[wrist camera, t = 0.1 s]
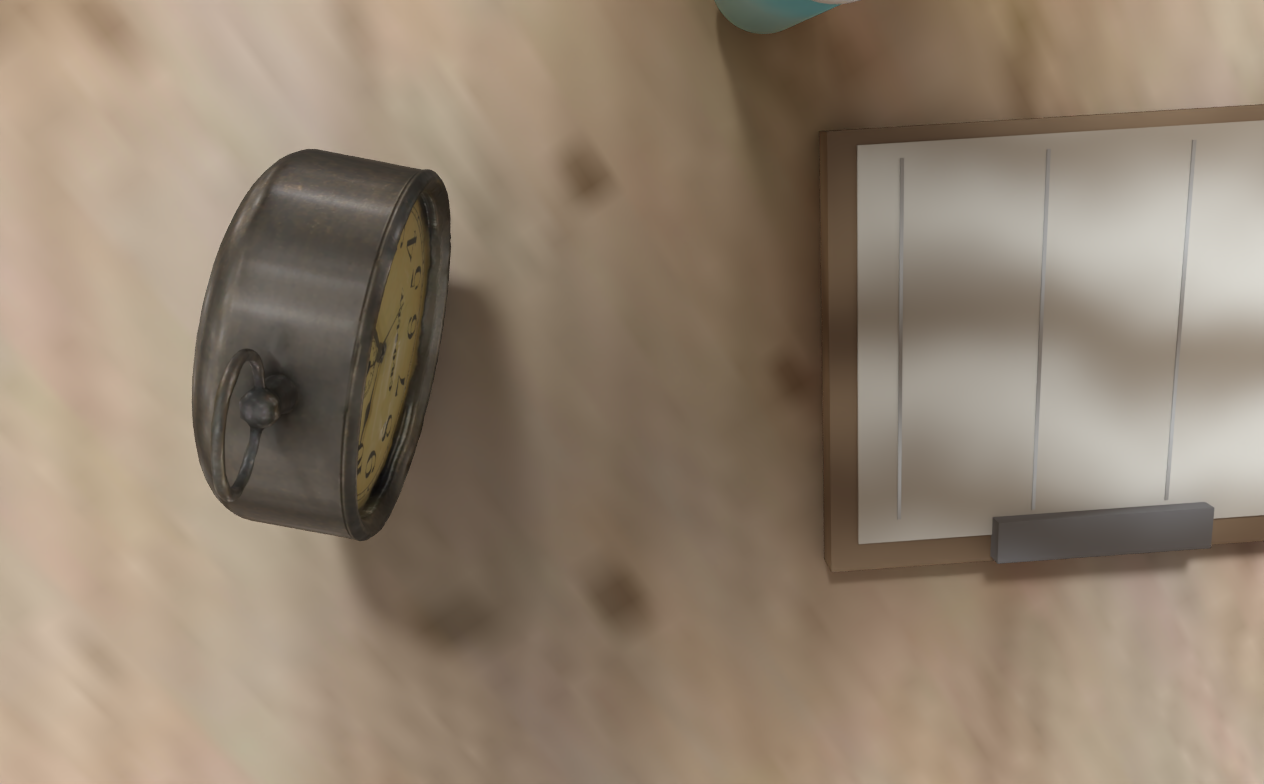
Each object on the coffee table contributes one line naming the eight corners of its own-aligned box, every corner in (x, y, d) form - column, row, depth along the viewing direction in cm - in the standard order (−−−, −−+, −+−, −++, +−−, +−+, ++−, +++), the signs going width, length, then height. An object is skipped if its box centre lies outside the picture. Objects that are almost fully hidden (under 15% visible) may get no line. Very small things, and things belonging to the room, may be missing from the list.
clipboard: (819, 131, 36) (832, 132, 34) (1385, 96, 36) (1427, 95, 35) (824, 559, 40) (835, 580, 38) (1333, 522, 41) (1368, 541, 39)
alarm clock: (426, 461, 38) (314, 699, 23) (278, 436, 38) (60, 661, 22) (471, 163, 36) (381, 199, 20) (313, 132, 35) (93, 144, 20)
